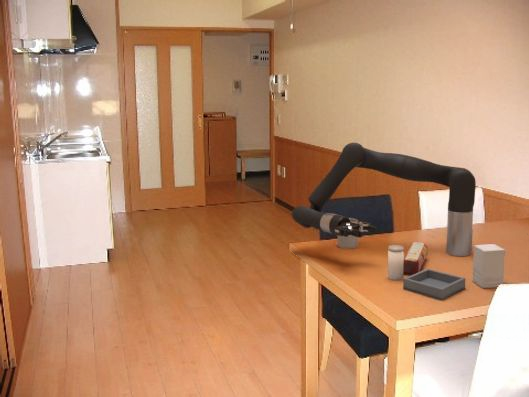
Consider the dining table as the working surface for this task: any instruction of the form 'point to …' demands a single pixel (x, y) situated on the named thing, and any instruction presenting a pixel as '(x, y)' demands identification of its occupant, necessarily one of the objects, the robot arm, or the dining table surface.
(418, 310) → the dining table surface
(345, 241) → the mug
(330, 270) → the dining table surface
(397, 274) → the canister
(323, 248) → the dining table surface
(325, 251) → the dining table surface
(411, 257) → the snack package
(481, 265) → the supplement box
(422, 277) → the tray
